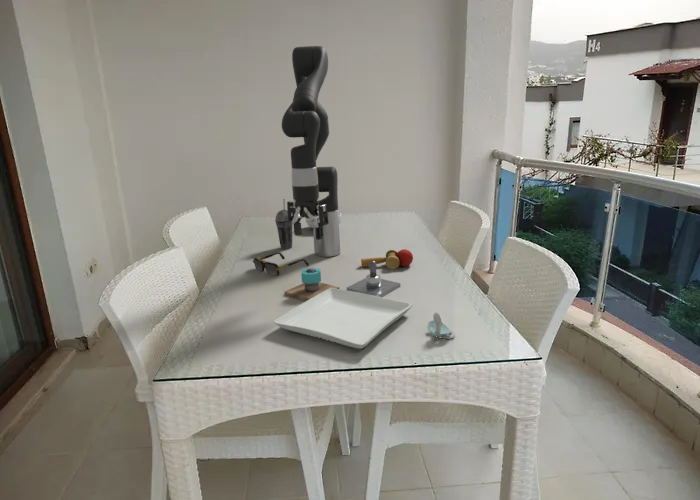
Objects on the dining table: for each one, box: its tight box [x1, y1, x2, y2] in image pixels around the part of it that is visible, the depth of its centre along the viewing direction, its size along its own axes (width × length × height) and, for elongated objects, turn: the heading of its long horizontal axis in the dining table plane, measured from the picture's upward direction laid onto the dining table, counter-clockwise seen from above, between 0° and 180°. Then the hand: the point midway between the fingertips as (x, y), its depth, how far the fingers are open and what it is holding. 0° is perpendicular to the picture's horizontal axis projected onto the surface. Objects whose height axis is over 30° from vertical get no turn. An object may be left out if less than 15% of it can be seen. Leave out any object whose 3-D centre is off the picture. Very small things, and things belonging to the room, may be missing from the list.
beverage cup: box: [274, 198, 294, 250], centre depth 195 cm, size 7×7×20 cm
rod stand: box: [284, 267, 340, 302], centre depth 150 cm, size 12×12×8 cm
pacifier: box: [427, 311, 456, 340], centre depth 120 cm, size 7×6×6 cm
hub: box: [346, 261, 401, 297], centre depth 151 cm, size 12×12×9 cm
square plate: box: [272, 288, 413, 350], centre depth 129 cm, size 27×27×4 cm
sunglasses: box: [252, 252, 310, 277], centre depth 174 cm, size 14×15×5 cm
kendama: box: [360, 248, 414, 270], centre depth 171 cm, size 8×6×18 cm
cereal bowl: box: [304, 211, 342, 229], centre depth 225 cm, size 17×17×7 cm
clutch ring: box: [300, 267, 322, 284], centre depth 149 cm, size 6×6×3 cm
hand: (308, 237), depth 146 cm, fingers open, 8 cm apart
